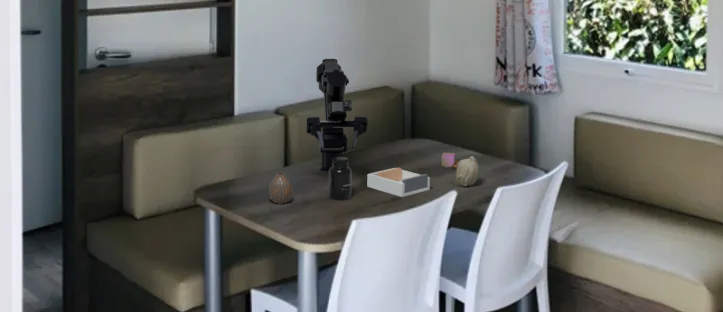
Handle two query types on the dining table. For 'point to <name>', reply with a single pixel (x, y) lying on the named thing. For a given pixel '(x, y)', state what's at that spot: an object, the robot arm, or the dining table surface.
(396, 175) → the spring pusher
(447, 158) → the perfume bottle
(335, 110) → the robot arm
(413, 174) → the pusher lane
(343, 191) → the supplement bottle
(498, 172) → the dining table surface
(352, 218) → the dining table surface
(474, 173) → the garlic bulb
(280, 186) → the vase
